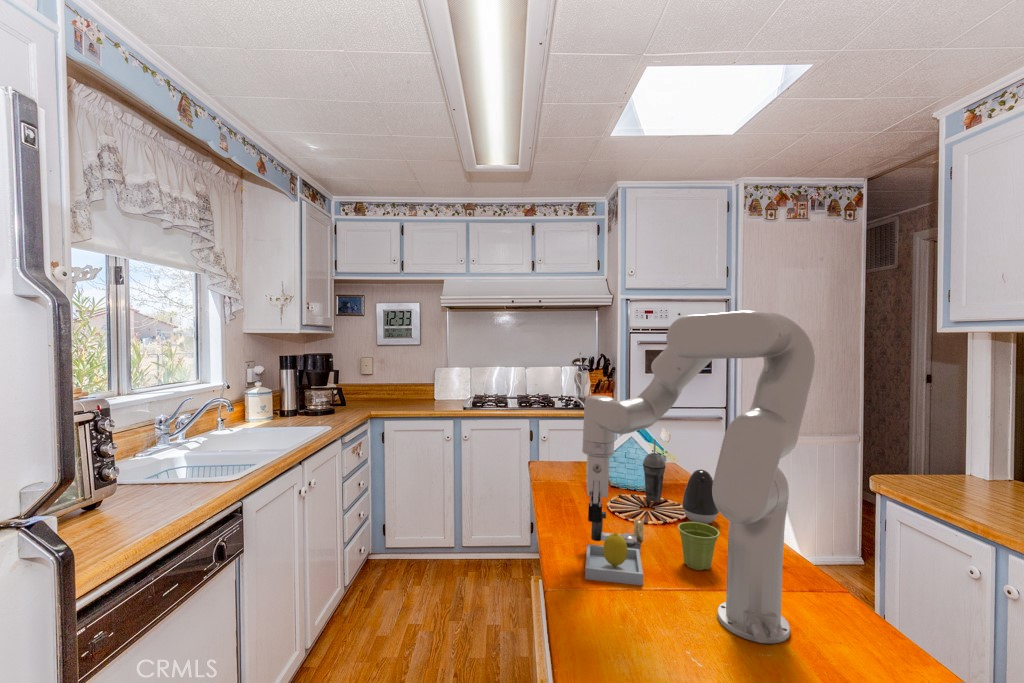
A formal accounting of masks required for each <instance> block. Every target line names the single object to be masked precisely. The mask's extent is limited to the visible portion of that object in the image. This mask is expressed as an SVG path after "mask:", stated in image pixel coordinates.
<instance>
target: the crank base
mask: <svg viewBox="0 0 1024 683" xmlns="http://www.w3.org/2000/svg"><path fill="white" fill-rule="evenodd" d="M633 522H634V523H633V524H634V525H633V534H634V535H636V536H637V543H636V544H635V545H627V548H633V549H639V551H640V554H641V551H642V550H641V549H642V548H641V547H642V543H641V542H643V541H644V520H642V519H639V518H637V519H634V521H633ZM639 541H640V542H639Z"/></svg>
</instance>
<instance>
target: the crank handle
mask: <svg viewBox="0 0 1024 683" xmlns="http://www.w3.org/2000/svg"><path fill="white" fill-rule="evenodd" d="M604 519H607V511H602V519H601V523H598V522H591V530H590V532H591V534H590V538H591V540H592V541H593V542H601V541H602V542H605V539H606V538H607V537H608V536H609V535H611V534H614V532H613V533H611V532H603V528H604V526H603V525H604V524H603V523H604ZM618 534H619V535H620V536H622V537H623V538H624V539H625V541H626V545H635V544H636V543H637V536H636V535H634V533H630V532H624V533H621V534H620V533H618Z"/></svg>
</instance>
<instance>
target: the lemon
mask: <svg viewBox="0 0 1024 683" xmlns="http://www.w3.org/2000/svg"><path fill="white" fill-rule="evenodd" d="M619 534H620V533H617V532H613V534H611V535H609V536H608V537H607V538H606V539H605V541H603V546H604V547H603V553H604V557H605V559H606V560H607V562H608V563H610V564H612V565H613V566H614V567H616V566H618V565H621V564H622V563H623V562H624V561H625V560H626V557H627V545H626V541H625V539H624V538H623V537H622V536H620V535H619Z"/></svg>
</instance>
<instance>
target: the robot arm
mask: <svg viewBox="0 0 1024 683" xmlns="http://www.w3.org/2000/svg"><path fill="white" fill-rule="evenodd" d="M665 339H666V343H667V346H666V347H665V348H664V349H663V350H662V351H661V352H660V353H659V354H658V355H657V356H656V357H655V358H654V360H652V363H651V365H650V366H651V367H650V368H651V369H650V370H651V372H652V374H653V379H652V380H651V382H650V383H649V384H648V385H647V387H646V388H645V389H644V390H643V391H641V393H640V394H638V395H637V396H636V397H633V398H628V399H623V400H615V399H614V397H612V396H608V395H598V394H597V395H589V396H587V397H586V398H585V400H584V405H583V408H584V409H583V410H584V411H583V427H582V428H583V431H582V447H581V448H582V450H581V451H582V453H583V454H585V455H586V492H587V494H586V495H587V496H588V497H589V503H588V512H587V516H588V517H587V520H588V522H591V523H592V522H598V523H601V519H602V512H603V504H602V498H605V499H608V497H609V479H610V478H609V476H610V457H612V456H614V452H615V434H616V435H625V434H626V435H627V434H630V433H634V432H638V431H641V430H645V429H647V428H650V427H652V426H653V425H654V424H656V422H658V421H659V420H660V419H661V418H662V417H663V416H664V415H665V414H666V413H668V411H669V410H670V409H671V408H672V407H673V406H674V405H675V403H676V402H677V400H678V399H679V397H680V395H681V394H682V391H683V389H684V388H685V387H686V386H687V385H688V384H689V383H690V382H692V380H694V378H696V376H698V375H699V373H701V371H703V369H705V367H707V365H709V364H710V363H711V362H712V361H713V360H714V359H715V360H716V359H719V360H720V359H756V358H757V359H758V358H763V366H762V370H761V371H760V372H761V373H760V375H759V377H758V378H757V382H756V387H755V392H754V395H753V399H752V402H751V406H750V408H749V410H748V411H746V412H743V413H741V414H739V415H738V416H736V417H735V418H734V419H733V420H732V421H731V422H730V423H729V425H728V426H727V429H726V431H725V433H724V435H723V440H722V444H721V447H720V452H719V456H718V458H717V459H718V460H717V464H716V469H715V472H714V476H713V485H712V496H713V501H714V503H715V506H716V508H717V509H718V511H719V513H720V515H722V516H723V517H724V518H725V520H728V521H729V522H728V536H727V537H728V539H727V560H726V561H727V567H726V592H725V594H726V595H725V598H726V599H725V601H724V602H722V603H720V604H719V606H718V607H717V613H716V614H717V615H716V616H717V619H718V621H719V622H720V624H721V625H722V626H723V627H724V628H725V629H727V630H728V631H729V632H731V633H732V634H734V635H736V636H738V637H740V638H742V639H745V640H748V641H751V642H755V643H759V644H767V645H768V644H777V643H778V644H779V643H781V642H785V641H787V639H789V637H790V636H791V626H790V623H789V622H788V620H787V619H786V618H785V617H784V616H783V615H782V597H783V596H782V595H783V567H784V566H783V565H784V563H783V562H784V549H785V546H784V545H785V544H784V543H785V526H786V518H787V512H788V507H789V506H788V504H789V498H790V497H789V496H790V490H789V483H788V479H787V477H786V475H785V474H784V472H783V470H781V469H780V468H779V464H780V460H781V459H783V458H784V457H786V456H787V455H789V454H791V452H792V451H793V450H794V449H795V448H796V445H797V443H798V439H799V434H800V430H801V426H802V422H803V418H804V414H805V411H806V407H807V401H808V397H809V393H810V388H811V385H812V381H813V377H814V372H815V363H816V360H815V358H816V357H815V350H814V346H813V343H812V341H811V340H810V337H809V336H808V334H807V333H806V331H805V330H804V329H803V328H802V327H801V326H800V325H799V324H798V323H796V322H795V321H793V320H792V319H790V318H789V317H787V316H786V315H782V314H780V313H777V312H776V313H775V312H772V311H771V312H770V311H761V310H760V311H758V310H739V311H738V310H737V311H729V312H718V313H706V314H705V313H704V314H688V315H683V316H681V317H679V318H677V319H675V320H674V321H673V322H672V323H671V324H670V326H669V327H668V330H667V332H666V338H665Z"/></svg>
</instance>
